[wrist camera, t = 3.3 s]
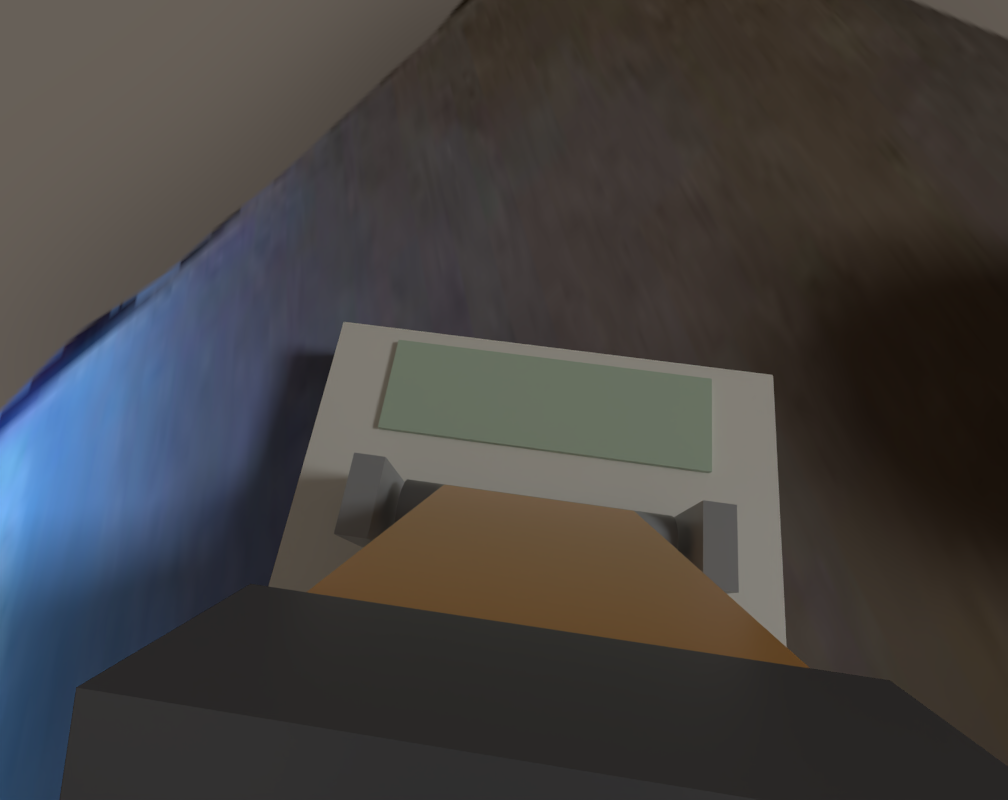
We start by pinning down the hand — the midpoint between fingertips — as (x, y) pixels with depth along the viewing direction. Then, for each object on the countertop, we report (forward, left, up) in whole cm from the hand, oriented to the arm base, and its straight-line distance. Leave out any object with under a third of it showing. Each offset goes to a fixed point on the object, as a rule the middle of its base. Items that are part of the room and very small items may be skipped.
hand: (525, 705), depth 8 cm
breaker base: (+3, +2, -9) cm, 9 cm away
